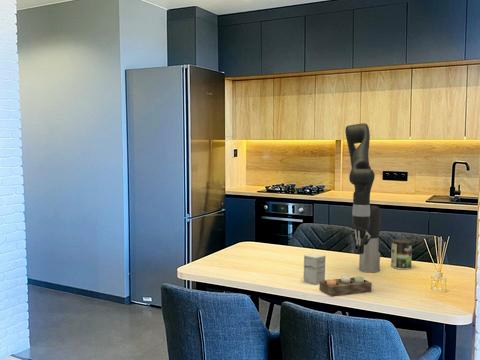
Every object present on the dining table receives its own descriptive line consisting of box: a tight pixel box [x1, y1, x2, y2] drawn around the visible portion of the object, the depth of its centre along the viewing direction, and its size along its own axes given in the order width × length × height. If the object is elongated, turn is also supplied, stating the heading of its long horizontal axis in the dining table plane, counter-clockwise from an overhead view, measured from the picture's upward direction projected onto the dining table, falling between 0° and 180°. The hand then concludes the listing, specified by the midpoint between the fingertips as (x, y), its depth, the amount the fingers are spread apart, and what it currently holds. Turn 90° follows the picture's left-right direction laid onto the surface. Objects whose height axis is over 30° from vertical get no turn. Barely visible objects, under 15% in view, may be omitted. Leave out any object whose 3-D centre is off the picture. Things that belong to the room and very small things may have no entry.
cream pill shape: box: [340, 274, 351, 284], centre depth 208 cm, size 4×4×3 cm
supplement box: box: [303, 252, 326, 285], centre depth 222 cm, size 7×7×13 cm
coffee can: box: [390, 238, 413, 271], centre depth 249 cm, size 10×10×14 cm
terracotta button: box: [327, 279, 336, 286], centre depth 206 cm, size 4×4×3 cm
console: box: [318, 276, 373, 297], centre depth 209 cm, size 20×10×4 cm, turn 110°
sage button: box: [355, 276, 365, 282], centre depth 211 cm, size 4×4×3 cm
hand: (360, 253), depth 210 cm, fingers closed
